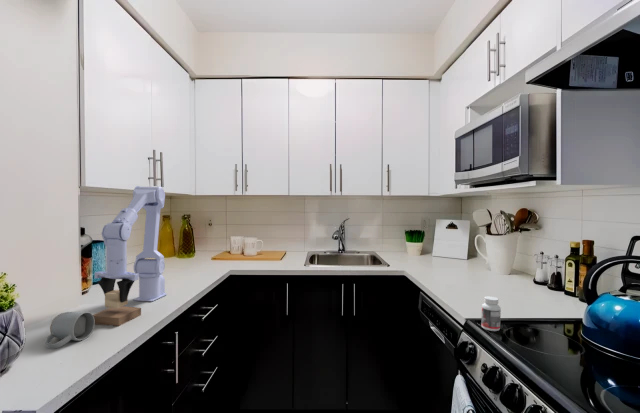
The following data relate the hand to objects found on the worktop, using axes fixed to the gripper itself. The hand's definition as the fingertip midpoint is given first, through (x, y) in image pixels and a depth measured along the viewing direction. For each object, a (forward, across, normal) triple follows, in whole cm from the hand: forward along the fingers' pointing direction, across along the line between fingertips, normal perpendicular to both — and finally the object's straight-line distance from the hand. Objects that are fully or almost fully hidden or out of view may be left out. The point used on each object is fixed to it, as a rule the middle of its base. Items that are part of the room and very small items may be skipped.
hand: (116, 301), depth 110 cm
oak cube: (+2, 0, 0) cm, 2 cm away
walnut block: (+6, 0, 0) cm, 6 cm away
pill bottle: (+6, +120, +16) cm, 122 cm away
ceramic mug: (+6, -1, -17) cm, 18 cm away
